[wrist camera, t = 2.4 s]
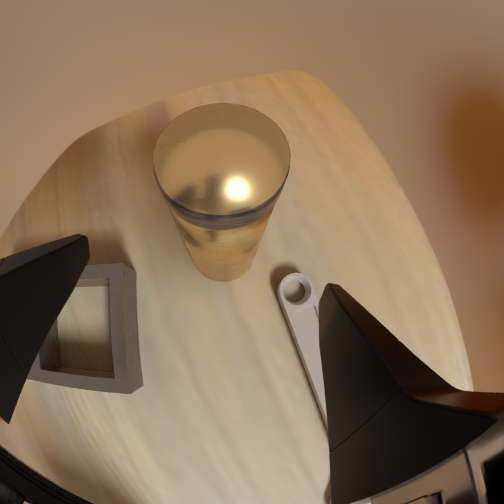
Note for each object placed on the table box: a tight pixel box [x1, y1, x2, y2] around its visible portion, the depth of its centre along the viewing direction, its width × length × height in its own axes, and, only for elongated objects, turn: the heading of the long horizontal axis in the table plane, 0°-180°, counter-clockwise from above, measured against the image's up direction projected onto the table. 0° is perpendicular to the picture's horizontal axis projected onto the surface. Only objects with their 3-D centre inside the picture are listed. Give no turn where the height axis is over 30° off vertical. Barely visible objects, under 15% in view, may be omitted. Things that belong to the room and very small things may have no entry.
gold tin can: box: [153, 103, 290, 282], centre depth 15 cm, size 5×5×12 cm
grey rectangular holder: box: [27, 263, 143, 394], centre depth 16 cm, size 13×9×3 cm
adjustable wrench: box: [277, 273, 331, 504], centre depth 18 cm, size 25×6×2 cm, turn 15°
